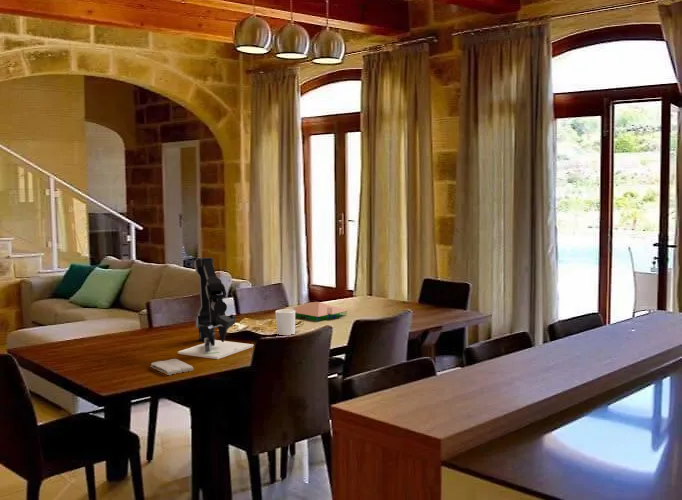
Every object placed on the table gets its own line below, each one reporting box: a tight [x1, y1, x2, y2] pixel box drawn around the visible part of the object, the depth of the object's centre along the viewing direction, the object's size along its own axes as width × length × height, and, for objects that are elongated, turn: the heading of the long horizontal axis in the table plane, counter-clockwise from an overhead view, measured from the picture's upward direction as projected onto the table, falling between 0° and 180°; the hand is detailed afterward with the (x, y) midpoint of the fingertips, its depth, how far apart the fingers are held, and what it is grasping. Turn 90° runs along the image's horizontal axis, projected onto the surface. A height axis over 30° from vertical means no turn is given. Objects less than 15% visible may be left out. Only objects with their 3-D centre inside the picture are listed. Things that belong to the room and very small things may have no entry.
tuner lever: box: [203, 337, 212, 352], centre depth 325 cm, size 16×4×4 cm, turn 8°
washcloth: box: [150, 358, 194, 376], centre depth 297 cm, size 12×18×3 cm, turn 39°
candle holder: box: [275, 308, 296, 335], centre depth 354 cm, size 10×10×12 cm
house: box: [292, 301, 349, 322], centre depth 401 cm, size 23×33×8 cm
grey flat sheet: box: [177, 339, 255, 360], centre depth 327 cm, size 23×25×1 cm
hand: (218, 343), depth 326 cm, fingers open, 6 cm apart
